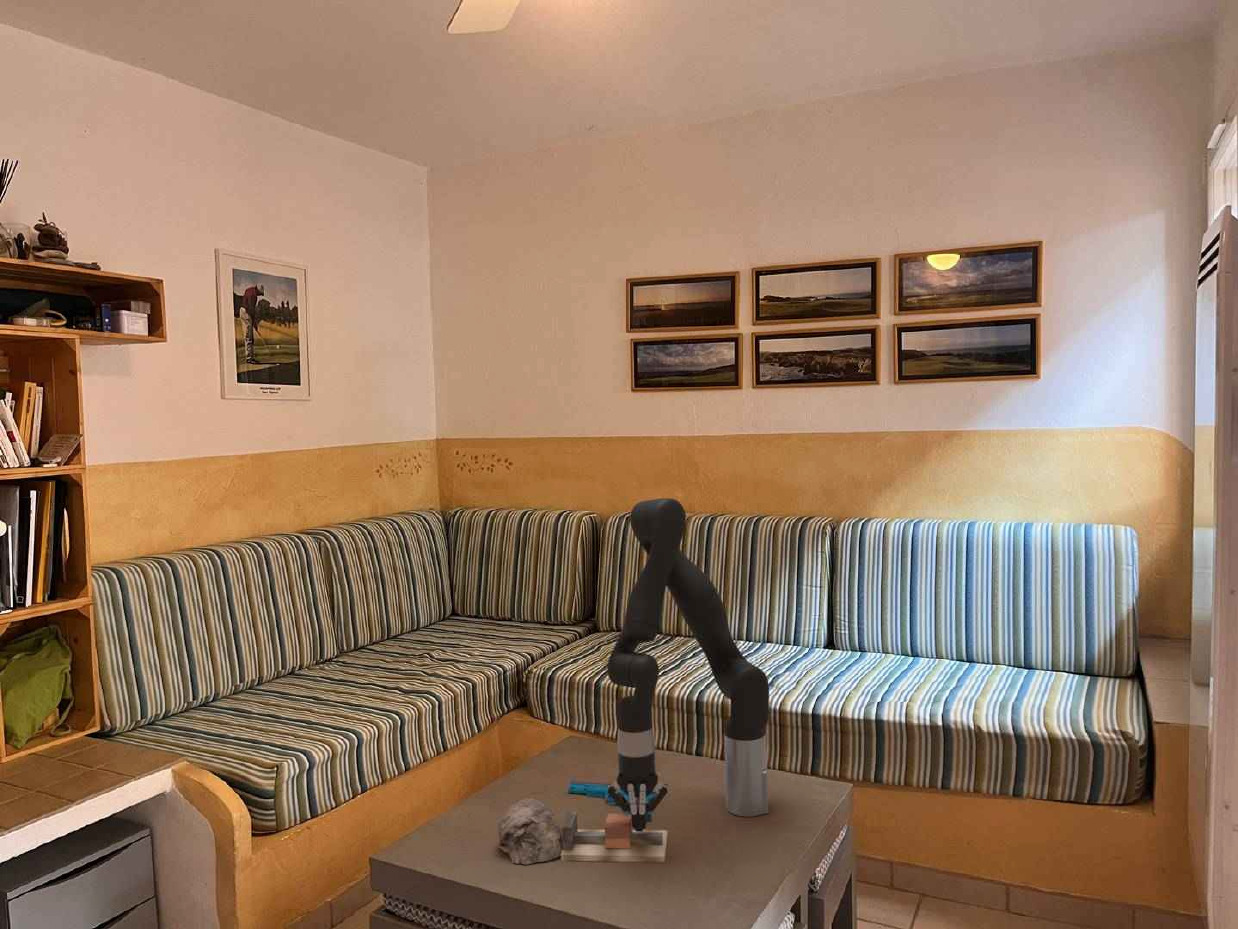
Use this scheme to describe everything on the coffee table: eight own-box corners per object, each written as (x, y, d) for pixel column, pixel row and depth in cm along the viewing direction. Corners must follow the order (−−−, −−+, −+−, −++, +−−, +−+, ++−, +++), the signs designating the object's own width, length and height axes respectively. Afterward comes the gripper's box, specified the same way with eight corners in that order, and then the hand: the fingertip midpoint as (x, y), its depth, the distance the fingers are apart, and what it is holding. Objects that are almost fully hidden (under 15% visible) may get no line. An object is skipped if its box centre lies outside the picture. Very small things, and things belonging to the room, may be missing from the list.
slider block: (632, 835, 198) (631, 814, 197) (629, 848, 192) (629, 827, 192) (609, 834, 198) (608, 813, 198) (605, 848, 192) (604, 826, 192)
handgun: (649, 826, 205) (666, 796, 220) (649, 814, 205) (665, 784, 219) (551, 818, 212) (573, 789, 226) (550, 806, 212) (573, 778, 226)
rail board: (667, 836, 200) (666, 808, 199) (664, 862, 189) (663, 833, 188) (569, 834, 202) (568, 807, 201) (561, 860, 191) (559, 832, 191)
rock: (576, 845, 197) (574, 799, 197) (545, 873, 187) (542, 824, 186) (516, 832, 204) (514, 787, 204) (483, 857, 194) (480, 810, 193)
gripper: (669, 741, 196) (672, 822, 197) (606, 741, 197) (609, 821, 199) (667, 755, 188) (670, 839, 190) (601, 755, 190) (605, 838, 191)
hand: (639, 830), depth 194 cm, fingers closed
